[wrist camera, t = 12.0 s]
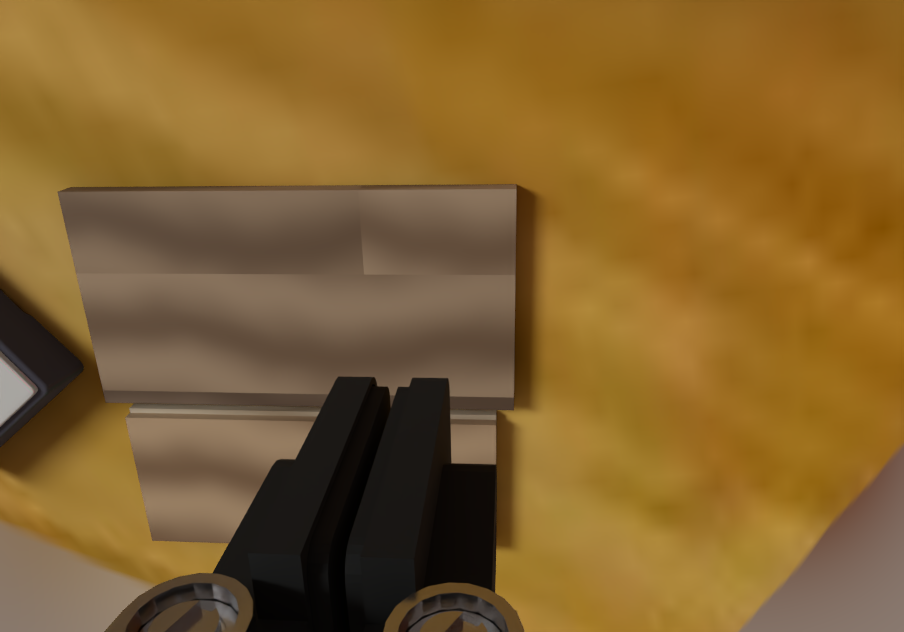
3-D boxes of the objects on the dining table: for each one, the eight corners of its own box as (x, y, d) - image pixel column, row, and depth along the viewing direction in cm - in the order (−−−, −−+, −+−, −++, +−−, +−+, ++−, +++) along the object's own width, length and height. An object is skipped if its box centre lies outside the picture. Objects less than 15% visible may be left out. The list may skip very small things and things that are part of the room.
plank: (134, 403, 43) (124, 413, 42) (496, 410, 41) (496, 420, 40) (161, 528, 46) (152, 540, 45) (496, 539, 44) (495, 552, 43)
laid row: (70, 187, 38) (57, 191, 37) (516, 184, 36) (516, 189, 35) (116, 393, 43) (105, 402, 41) (513, 399, 41) (513, 410, 40)
